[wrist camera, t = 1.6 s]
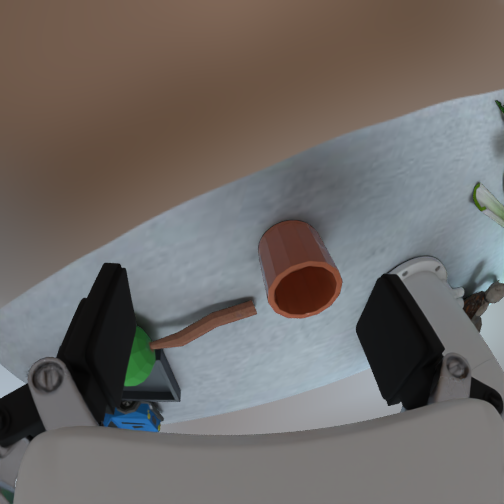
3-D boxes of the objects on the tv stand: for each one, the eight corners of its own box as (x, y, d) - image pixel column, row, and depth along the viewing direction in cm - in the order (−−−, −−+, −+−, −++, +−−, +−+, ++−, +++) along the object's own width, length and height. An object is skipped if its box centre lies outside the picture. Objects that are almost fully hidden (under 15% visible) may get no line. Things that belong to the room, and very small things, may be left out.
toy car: (165, 413, 47) (163, 460, 39) (80, 408, 46) (73, 450, 38) (149, 391, 42) (144, 445, 34) (58, 385, 41) (47, 431, 33)
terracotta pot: (322, 217, 27) (347, 257, 22) (316, 270, 31) (335, 314, 26) (257, 221, 27) (268, 264, 21) (258, 275, 30) (267, 322, 25)
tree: (236, 263, 34) (89, 320, 32) (252, 298, 27) (74, 361, 25) (256, 314, 37) (119, 362, 35) (273, 354, 30) (113, 405, 28)
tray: (161, 347, 36) (160, 360, 34) (180, 390, 42) (180, 401, 41) (59, 346, 34) (56, 357, 33) (91, 388, 41) (89, 398, 40)
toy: (483, 399, 26) (514, 294, 24) (425, 387, 32) (449, 285, 30) (485, 347, 40) (501, 270, 38) (442, 340, 46) (456, 264, 44)
